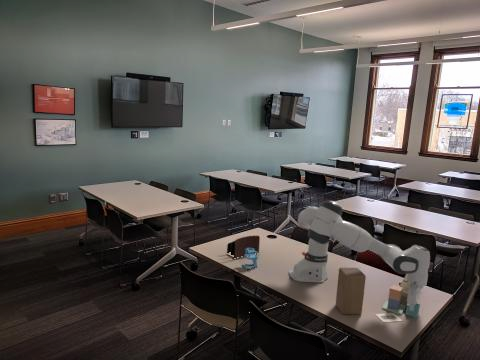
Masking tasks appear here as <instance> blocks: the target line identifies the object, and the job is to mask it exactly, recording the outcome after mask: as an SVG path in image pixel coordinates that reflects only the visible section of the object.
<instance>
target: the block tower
mask: <svg viewBox="0 0 480 360" xmlns="http://www.w3.org/2000/svg"><path fill="white" fill-rule="evenodd" d="M406 279H407V274H405V276H404V278H403V279H402V281H401V283H400V284H399V286H398V287H402V288H403V289H402V297H401V304H400V305H403V306H405V307H407V304H408V303H407V297H408V291H409V287H410V285H409V283H408V282H407V281H406Z"/></svg>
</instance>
